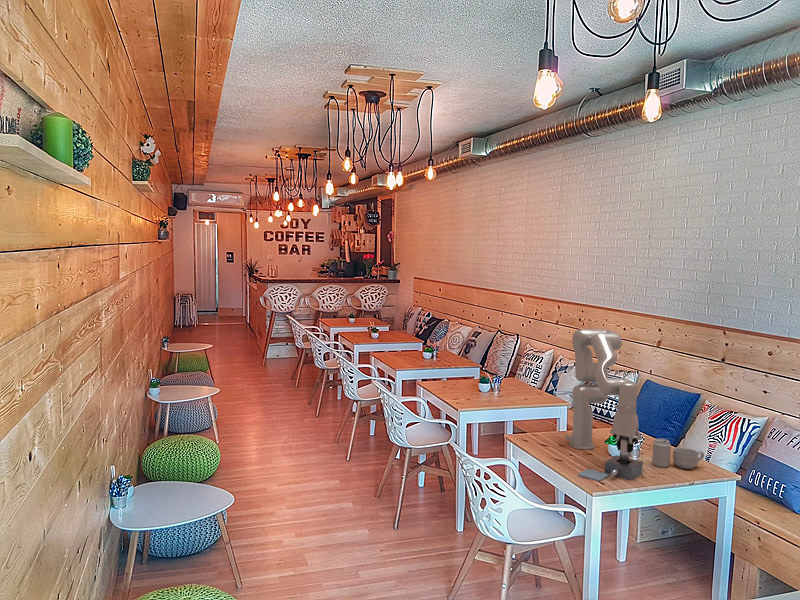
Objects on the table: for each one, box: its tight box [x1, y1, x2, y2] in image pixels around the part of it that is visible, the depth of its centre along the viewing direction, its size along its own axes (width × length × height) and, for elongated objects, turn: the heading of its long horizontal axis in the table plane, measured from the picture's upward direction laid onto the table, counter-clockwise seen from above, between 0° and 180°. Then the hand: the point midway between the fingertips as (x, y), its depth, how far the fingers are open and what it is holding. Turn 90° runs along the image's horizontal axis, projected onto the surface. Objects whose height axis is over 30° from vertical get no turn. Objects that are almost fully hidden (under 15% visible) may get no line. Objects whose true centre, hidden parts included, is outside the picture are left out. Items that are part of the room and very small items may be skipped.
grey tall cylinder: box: [619, 436, 630, 464], centre depth 268 cm, size 4×4×14 cm
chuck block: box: [604, 454, 643, 481], centre depth 266 cm, size 12×18×6 cm, turn 138°
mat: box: [577, 468, 610, 482], centre depth 264 cm, size 10×10×1 cm
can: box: [651, 438, 672, 468], centre depth 281 cm, size 8×8×12 cm
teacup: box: [672, 447, 705, 470], centre depth 280 cm, size 14×11×8 cm
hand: (624, 450), depth 268 cm, fingers closed on grey tall cylinder, 4 cm apart
